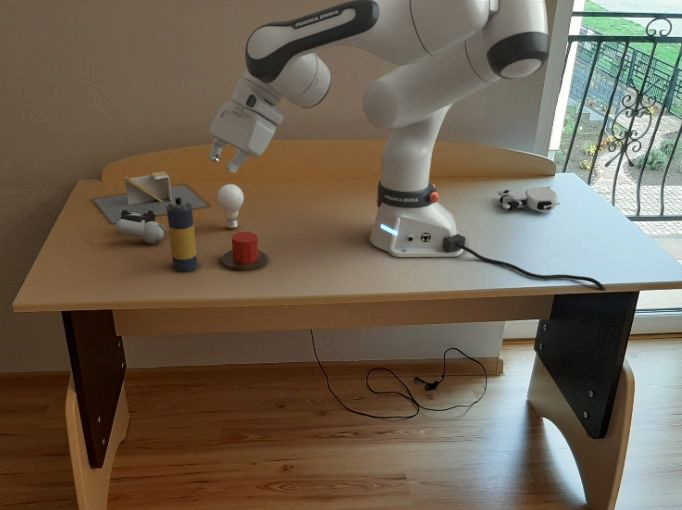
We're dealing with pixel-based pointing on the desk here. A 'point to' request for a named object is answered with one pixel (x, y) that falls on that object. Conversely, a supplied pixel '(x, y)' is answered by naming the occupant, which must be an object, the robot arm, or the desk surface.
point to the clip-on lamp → (140, 226)
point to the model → (146, 196)
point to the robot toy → (530, 199)
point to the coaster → (233, 265)
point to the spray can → (182, 235)
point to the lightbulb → (230, 203)
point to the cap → (245, 247)
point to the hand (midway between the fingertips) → (221, 166)
